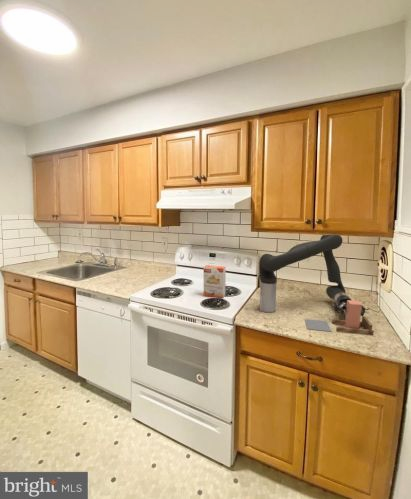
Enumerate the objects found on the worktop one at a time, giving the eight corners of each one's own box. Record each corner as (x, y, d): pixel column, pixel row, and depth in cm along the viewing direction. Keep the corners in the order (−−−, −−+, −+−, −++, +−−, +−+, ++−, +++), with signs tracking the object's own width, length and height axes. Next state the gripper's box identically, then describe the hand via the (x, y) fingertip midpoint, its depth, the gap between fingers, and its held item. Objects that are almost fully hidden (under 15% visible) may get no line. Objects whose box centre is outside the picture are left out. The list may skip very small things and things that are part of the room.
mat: (307, 329, 128) (307, 328, 128) (304, 319, 138) (304, 319, 138) (331, 331, 125) (331, 331, 125) (326, 321, 136) (326, 320, 136)
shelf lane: (336, 331, 126) (337, 322, 125) (331, 322, 135) (332, 313, 134) (373, 335, 122) (374, 325, 121) (365, 325, 131) (366, 316, 130)
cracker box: (203, 296, 174) (203, 266, 170) (206, 293, 179) (206, 264, 175) (223, 299, 169) (223, 268, 165) (225, 295, 174) (225, 266, 170)
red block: (347, 330, 126) (350, 304, 124) (344, 325, 131) (347, 300, 129) (358, 331, 125) (361, 304, 123) (355, 326, 130) (358, 300, 128)
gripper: (330, 293, 143) (338, 305, 128) (358, 295, 140) (369, 307, 125) (329, 306, 145) (336, 319, 129) (356, 308, 142) (368, 321, 126)
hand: (353, 313), depth 127 cm, fingers open, 8 cm apart
